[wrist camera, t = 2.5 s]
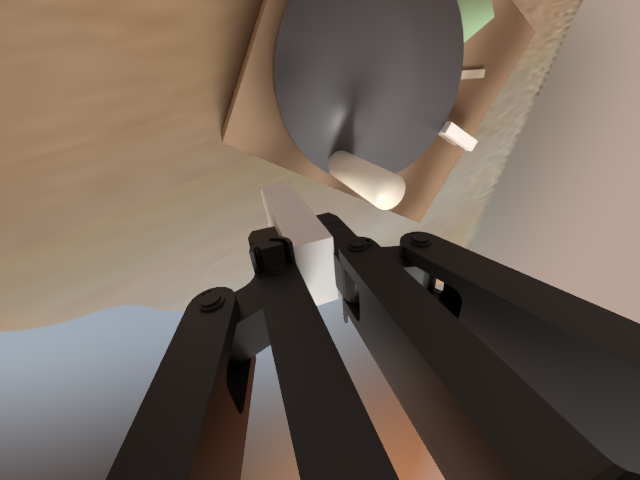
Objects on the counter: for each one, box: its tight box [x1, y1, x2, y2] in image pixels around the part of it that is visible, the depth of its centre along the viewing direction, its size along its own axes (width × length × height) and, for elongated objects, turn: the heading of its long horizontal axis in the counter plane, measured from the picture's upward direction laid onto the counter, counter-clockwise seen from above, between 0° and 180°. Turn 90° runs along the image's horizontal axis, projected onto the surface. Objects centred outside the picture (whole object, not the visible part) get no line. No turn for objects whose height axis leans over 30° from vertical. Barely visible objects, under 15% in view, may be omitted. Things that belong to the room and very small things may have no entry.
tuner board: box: [221, 0, 536, 223], centre depth 21 cm, size 20×18×4 cm
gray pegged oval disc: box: [273, 0, 478, 210], centre depth 17 cm, size 18×14×8 cm
